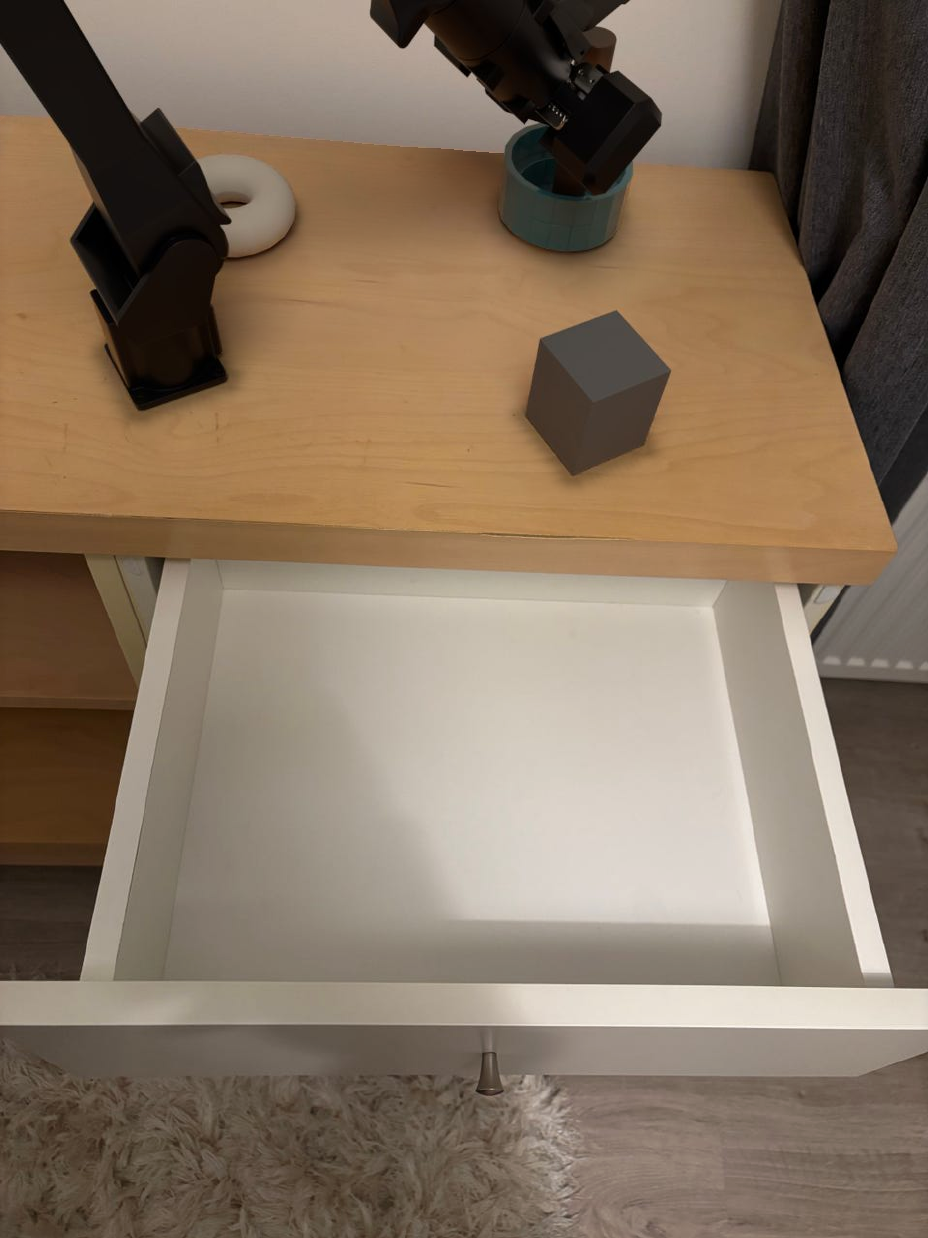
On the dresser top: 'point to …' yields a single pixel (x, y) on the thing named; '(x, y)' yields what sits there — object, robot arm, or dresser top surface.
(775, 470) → the dresser top surface
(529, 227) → the bowl
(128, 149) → the robot arm
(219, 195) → the donut
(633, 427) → the cube
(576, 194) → the stick
